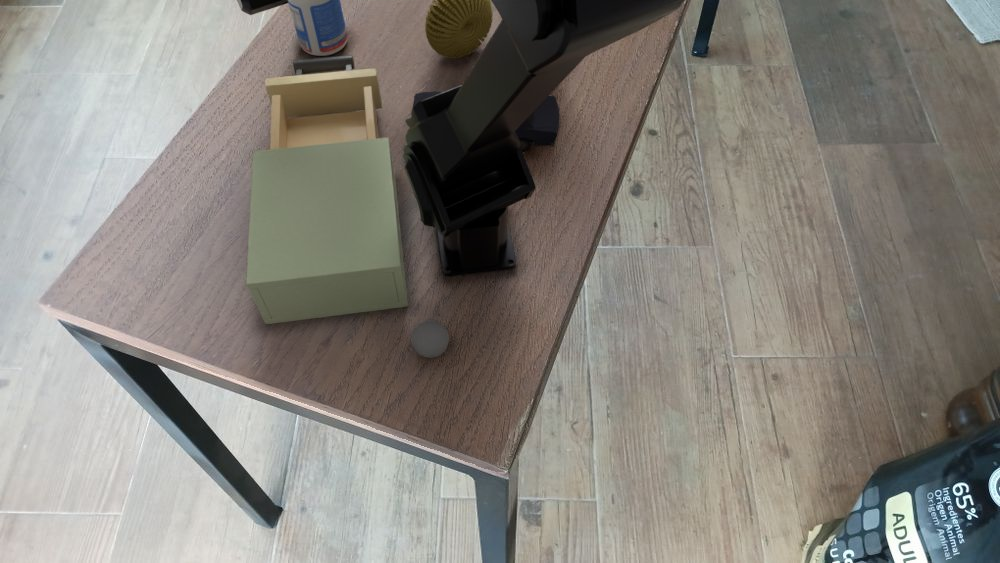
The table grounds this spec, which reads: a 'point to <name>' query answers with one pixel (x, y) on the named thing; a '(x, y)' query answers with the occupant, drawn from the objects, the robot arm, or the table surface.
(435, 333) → the rubber ball
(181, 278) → the table surface
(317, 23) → the pill bottle
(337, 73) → the drawer
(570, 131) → the table surface
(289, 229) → the cabinet
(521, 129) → the toy car
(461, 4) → the sculpture
